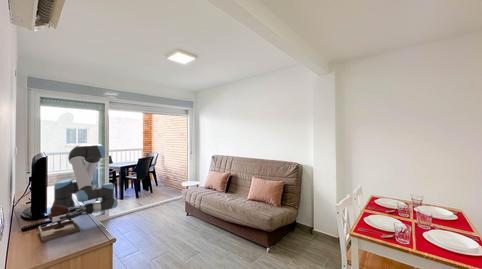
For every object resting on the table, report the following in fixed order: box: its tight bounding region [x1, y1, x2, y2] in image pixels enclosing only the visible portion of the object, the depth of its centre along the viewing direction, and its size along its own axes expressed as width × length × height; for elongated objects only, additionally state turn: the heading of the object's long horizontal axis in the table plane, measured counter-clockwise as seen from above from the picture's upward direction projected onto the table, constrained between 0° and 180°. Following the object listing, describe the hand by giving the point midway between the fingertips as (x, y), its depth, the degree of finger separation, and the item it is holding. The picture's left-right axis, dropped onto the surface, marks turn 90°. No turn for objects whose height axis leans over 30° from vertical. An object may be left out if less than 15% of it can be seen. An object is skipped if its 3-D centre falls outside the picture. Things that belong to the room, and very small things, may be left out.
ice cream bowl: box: [47, 205, 70, 230], centre depth 135 cm, size 11×11×15 cm
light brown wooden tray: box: [38, 219, 81, 243], centre depth 135 cm, size 18×18×3 cm
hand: (50, 217), depth 132 cm, fingers closed on ice cream bowl, 11 cm apart
